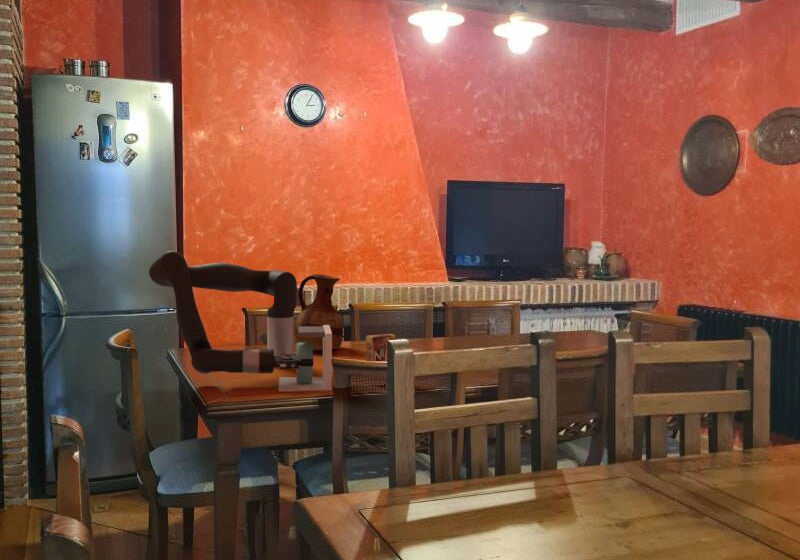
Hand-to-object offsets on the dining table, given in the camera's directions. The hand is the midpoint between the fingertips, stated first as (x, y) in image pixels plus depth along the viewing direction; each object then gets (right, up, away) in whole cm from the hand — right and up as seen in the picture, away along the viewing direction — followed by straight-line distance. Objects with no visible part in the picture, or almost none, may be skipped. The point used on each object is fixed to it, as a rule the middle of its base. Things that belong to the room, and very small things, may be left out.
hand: (312, 360), depth 240 cm
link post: (-3, -6, 0) cm, 7 cm away
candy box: (+21, -8, +6) cm, 23 cm away
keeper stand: (-3, -7, 0) cm, 8 cm away
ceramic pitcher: (-5, -2, +61) cm, 62 cm away
